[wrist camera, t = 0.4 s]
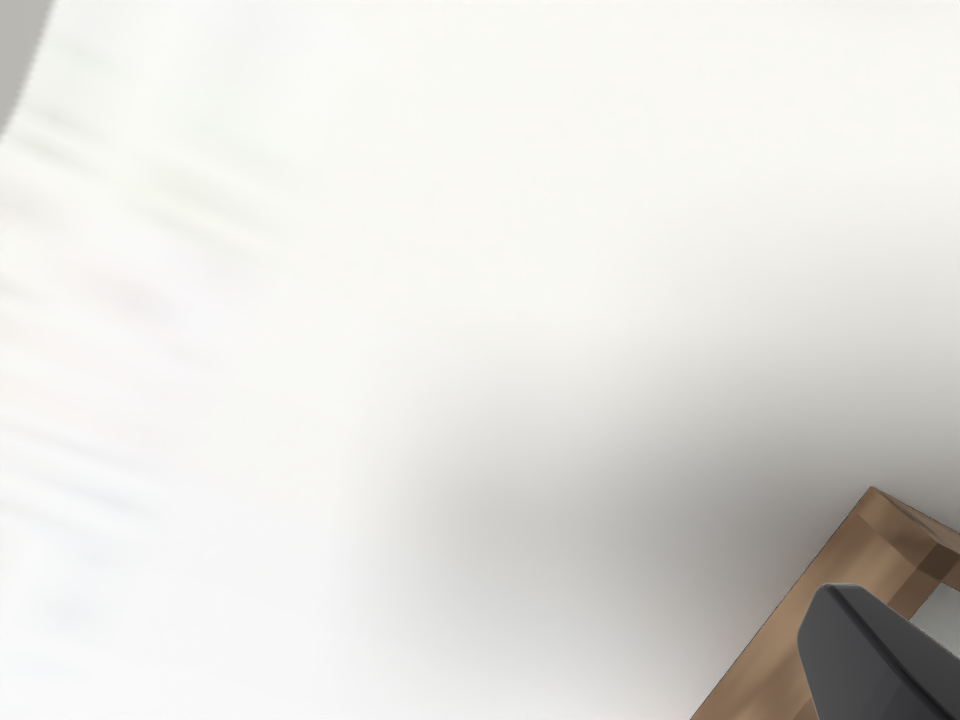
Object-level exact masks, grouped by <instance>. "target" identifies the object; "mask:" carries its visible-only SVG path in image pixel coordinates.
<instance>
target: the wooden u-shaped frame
mask: <svg viewBox="0 0 960 720" xmlns="http://www.w3.org/2000/svg"><path fill="white" fill-rule="evenodd" d="M940 582H943V583H945V584H947V585H949V586H950V587H952V588H954V589H956V590H958V591H960V534H959V533H957V532H955V531H953V530H952V529H950V528H948V527H946V526H944V525H942V524H940V523H939V522H937V521H935V520H933V519H931V518H929V517H928V516H926V515H924V514H922V513H920V512H918V511H916V510H915V509H913V508H911V507H909V506H907V505H905V504H903V503H902V502H900V501H898V500H896V499H894V498H892V497H890V496H889V495H887V494H885V493H883V492H881V491H879V490H878V489H876V488H874V487H872V486H871V487H870V488H869V489H868V491H867V492H866V493H865V494H864V496H863V497H862V498H861V500H860V501H859V502H858V504H857V505H856V506H855V507H854V509H853V510H852V511H851V513H850V514H849V515H848V516H847V518H846V519H845V520H844V522H843V523H842V524H841V525H840V527H839V528H838V529H837V531H836V532H835V533H834V535H833V536H832V537H831V538H830V540H829V541H828V542H827V544H826V545H825V546H824V547H823V549H822V550H821V551H820V553H819V554H818V555H817V556H816V558H815V559H814V560H813V562H812V563H811V564H810V566H809V567H808V568H807V569H806V571H805V572H804V573H803V575H802V576H801V577H800V578H799V580H798V581H797V582H796V584H795V585H794V586H793V588H792V589H791V590H790V591H789V593H788V594H787V595H786V597H785V598H784V599H783V600H782V602H781V603H780V604H779V606H778V607H777V608H776V609H775V611H774V612H773V613H772V615H771V616H770V617H769V619H768V620H767V621H766V622H765V624H764V625H763V626H762V628H761V629H760V630H759V631H758V633H757V634H756V635H755V637H754V638H753V639H752V640H751V642H750V643H749V644H748V646H747V647H746V648H745V650H744V651H743V652H742V653H741V655H740V656H739V657H738V659H737V660H736V661H735V662H734V664H733V665H732V666H731V668H730V669H729V670H728V671H727V673H726V674H725V675H724V677H723V678H722V679H721V681H720V682H719V683H718V684H717V686H716V687H715V688H714V690H713V691H712V692H711V693H710V695H709V696H708V697H707V699H706V700H705V701H704V703H703V704H702V705H701V706H700V708H699V709H698V710H697V712H696V713H695V714H694V715H693V717H692V718H691V719H690V720H819V719H818V716H817V713H816V710H815V706H814V703H813V700H812V697H811V693H810V690H809V687H808V683H807V680H806V677H805V674H804V670H803V667H802V664H801V660H800V657H799V654H798V649H797V633H798V629H799V626H800V624H801V622H802V620H803V617H804V615H805V613H806V611H807V608H808V606H809V604H810V602H811V599H812V597H813V595H814V593H815V591H816V589H817V588H818V587H819V586H820V585H822V584H824V583H854V584H858V585H860V586H862V587H863V588H865V589H866V590H868V591H869V592H870V593H872V594H873V595H874V596H876V597H877V598H879V599H880V600H881V601H883V602H884V603H885V604H887V605H888V606H889V607H891V608H892V609H893V610H895V611H896V612H897V613H899V614H900V615H901V616H903V617H904V618H905V619H907V620H908V621H909V619H910V618H911V617H912V616H913V615H914V614H915V612H916V611H917V610H918V609H919V608H920V606H921V605H922V604H923V603H924V602H925V600H926V599H927V598H928V597H929V596H930V594H931V593H932V592H933V591H934V590H935V588H936V587H937V586H938V585H939V584H940Z"/></svg>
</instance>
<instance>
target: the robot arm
mask: <svg viewBox="0 0 960 720" xmlns="http://www.w3.org/2000/svg"><path fill="white" fill-rule="evenodd" d="M797 649H798V654H799V657H800V660H801V664H802V667H803V670H804V674H805V677H806V680H807V683H808V687H809V690H810V693H811V697H812V700H813V703H814V706H815V710H816V713H817V716H818V719H819V720H960V659H959V658H957V657H956V656H955V655H953V654H952V653H951V652H949V651H948V650H947V649H945V648H944V647H943V646H941V645H940V644H939V643H937V642H936V641H935V640H933V639H932V638H931V637H929V636H928V635H927V634H925V633H924V632H923V631H921V630H920V629H919V628H917V627H916V626H915V625H913V624H912V623H911V622H909V621H908V620H907V619H905V618H904V617H903V616H901V615H900V614H899V613H897V612H896V611H895V610H893V609H892V608H891V607H889V606H888V605H887V604H885V603H884V602H883V601H881V600H880V599H879V598H877V597H876V596H874V595H873V594H872V593H870V592H869V591H868V590H866V589H865V588H863V587H862V586H860V585H858V584H854V583H824V584H822V585H820V586H819V587H818V588H817V589H816V591H815V593H814V595H813V597H812V599H811V602H810V604H809V606H808V608H807V611H806V613H805V615H804V617H803V620H802V622H801V624H800V626H799V629H798V633H797Z"/></svg>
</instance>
